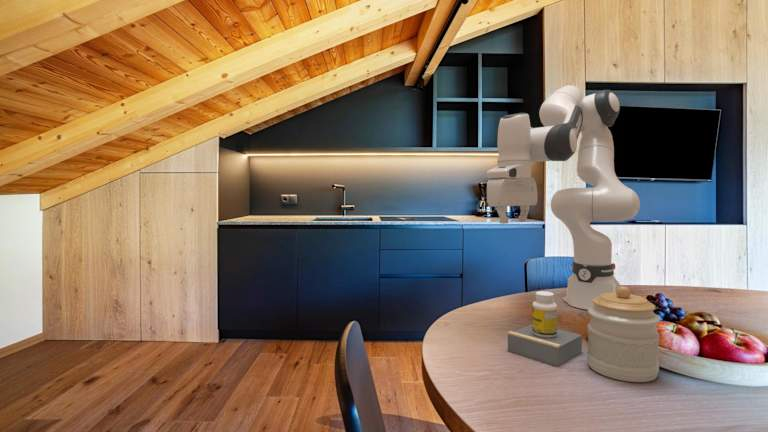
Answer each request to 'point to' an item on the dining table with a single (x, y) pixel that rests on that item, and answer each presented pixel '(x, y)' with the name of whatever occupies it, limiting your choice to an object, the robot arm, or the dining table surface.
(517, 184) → the robot arm
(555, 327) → the supplement bottle
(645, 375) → the jar
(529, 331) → the block
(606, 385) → the dining table surface
